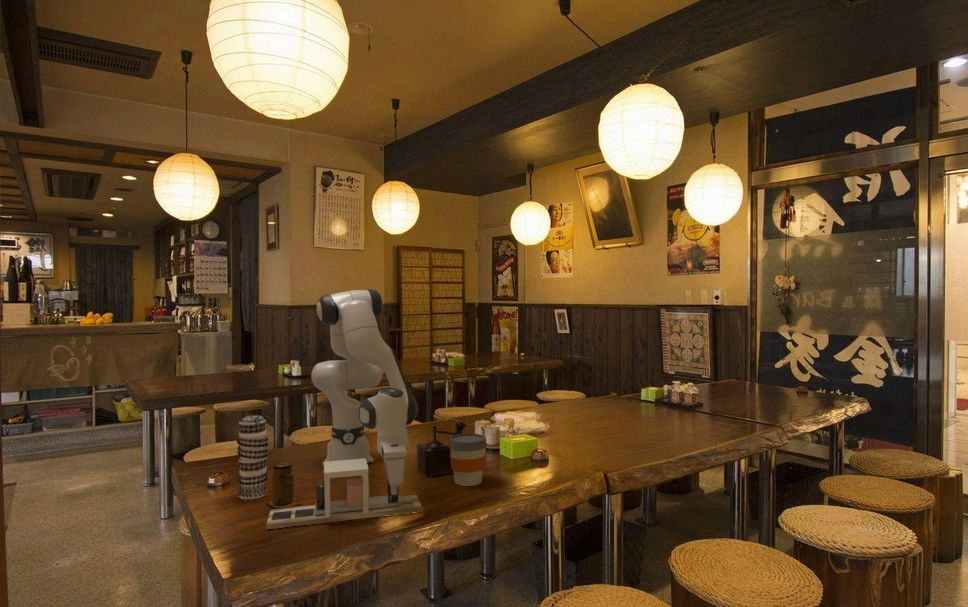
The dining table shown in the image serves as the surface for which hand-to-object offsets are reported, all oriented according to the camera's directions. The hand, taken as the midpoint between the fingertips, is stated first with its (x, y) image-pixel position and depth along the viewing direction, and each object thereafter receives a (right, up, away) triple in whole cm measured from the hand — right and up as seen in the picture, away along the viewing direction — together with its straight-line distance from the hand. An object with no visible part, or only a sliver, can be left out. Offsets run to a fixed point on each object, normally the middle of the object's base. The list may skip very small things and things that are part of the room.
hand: (392, 491), depth 163 cm
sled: (-10, -3, -3) cm, 11 cm away
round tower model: (-46, -6, +12) cm, 48 cm away
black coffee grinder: (+12, -5, +35) cm, 38 cm away
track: (-13, -5, -4) cm, 14 cm away
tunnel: (-13, -4, -4) cm, 14 cm away
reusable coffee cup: (+21, -5, +23) cm, 32 cm away
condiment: (-34, -6, +4) cm, 34 cm away
